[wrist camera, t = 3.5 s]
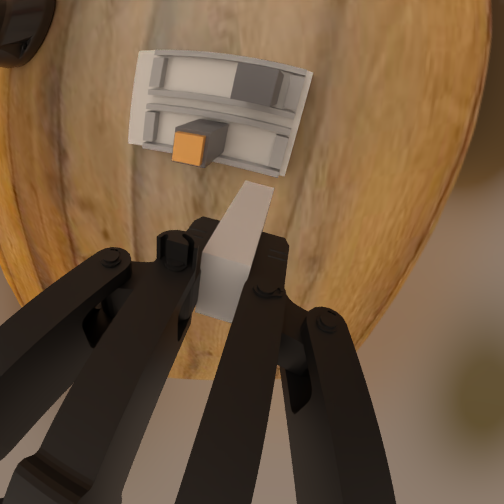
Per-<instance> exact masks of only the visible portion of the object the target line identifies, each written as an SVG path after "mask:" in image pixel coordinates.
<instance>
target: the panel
mask: <svg viewBox="0 0 504 504" xmlns="http://www.w3.org/2000/svg"><path fill="white" fill-rule="evenodd" d="M312 75H313V72H310V71H307V70H306V69H302V68H298V67H294V66H290V65H286V64H282V63H277V62H273V61H268V60H263V59H257V58H251V57H245V56H239V55H232V54H224V53H215V52H204V51H190V50H149V51H139V55H138V60H137V66H136V72H135V79H134V86H133V94H132V102H131V112H130V122H129V136H128V143H130V144H137V145H142V148H144V149H150V150H156V151H162V152H167V153H172V151H173V143H174V135H175V127H177V126H180V125H183V124H186V123H188V122H191V121H194V120H197V119H206V120H211V121H217V122H222V123H227V124H229V126H228V131H227V136H226V141H225V147H224V152H223V153H222V154H221V155H219V156H218V157H217V158H216V159H215V160H213V161H212V162H216V163H221V164H225V165H229V166H233V167H238V168H242V169H246V170H250V171H254V172H257V173H261V174H265V175H269V176H272V177H276V178H278V176H279V175H281V176H285V173H286V169H287V166H288V162H289V159H290V155H291V152H292V148H293V145H294V141H295V137H296V134H297V130H298V127H299V123H300V119H301V116H302V112H303V108H304V105H305V101H306V98H307V94H308V90H309V87H310V83H311V79H312Z"/></svg>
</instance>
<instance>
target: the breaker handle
mask: <svg viewBox="0 0 504 504" xmlns="http://www.w3.org/2000/svg"><path fill="white" fill-rule="evenodd" d="M228 126H229V124H227V123H222V122H217V121H211V120H206V119H197V120H194V121H191V122H188V123H186V124H183V125H180V126H177V127H175V135H174V143H173V151H172V161H173V162H178V163H183V164H188V165H192V166H197V167H201V168H205V167H207V166H208V165H209V164H210V163H211V162H212V161H213V160H215V159H216V158H217V157H218V156H219V155H221V154H222V153H223V152H224V147H225V141H226V136H227V131H228Z"/></svg>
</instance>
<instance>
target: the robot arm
mask: <svg viewBox="0 0 504 504" xmlns="http://www.w3.org/2000/svg"><path fill="white" fill-rule="evenodd" d="M54 6H55V0H0V67H3V68H13V67H18V66H22V65H24V64H25V63H26V62H28V61H29V60H30V59H31V58H32V56H33V55H34V54H35V53H36V51H37V50H38V48H39V46H40V45H41V43H42V41H43V39H44V37H45V35H46V33H47V31H48V28H49V25H50V23H51V19H52V16H53V12H54ZM273 191H274V188H272V187H269V186H265V185H261V184H258V183H254V182H250V181H246V180H245V182H244V183H243V185H242V187H241V188H240V190H239V191H238V193H237V195H236V196H235V198H234V200H233V201H232V203H231V204H230V206H229V208H228V209H227V211H226V213H225V214H224V216H223V218H222V219H221V221H218V220H215V219H211V218H207V217H201V218H199V219H197V220H195V221H194V222H193V223H192V224H191V226H190V227H189V229H188V230H187V231H180V230H169V231H166V232H163V233H161V234H160V235H158V236H157V259H156V260H155V261H154V262H135V261H131V257H130V254H129V253H128V252H127V251H126V250H124V249H121V248H116V247H110V248H105V249H103V250H101V251H99V252H97V253H96V254H94V255H93V256H91V257H90V258H88V259H87V260H85V261H84V262H82V263H81V264H80V265H78V266H77V267H75V268H74V269H72V270H71V271H70V272H68V273H67V274H65V275H64V276H63V277H61V278H60V279H59V280H57V281H56V282H54V283H53V284H52V285H50V286H49V287H48V288H46V289H45V290H44V291H43V292H41V293H40V294H39V295H37V296H36V297H35V298H34V299H32V300H31V301H30V302H29V303H27V304H26V305H25V306H24V307H22V308H21V309H20V310H19V311H18V312H16V313H15V314H14V315H13V316H11V317H10V318H9V319H8V320H7V321H6V322H5V323H3V324H2V325H1V326H0V460H2V459H3V458H4V457H5V456H6V455H7V454H8V453H9V452H10V451H11V450H12V449H13V448H14V447H15V446H16V445H17V443H18V442H19V441H20V440H21V439H22V438H23V437H24V435H25V434H26V433H27V432H28V431H29V430H30V429H31V428H32V427H33V426H34V424H35V423H36V422H37V421H38V420H39V419H40V418H41V417H42V416H43V414H45V412H46V411H47V410H48V409H49V408H50V407H51V406H52V405H53V404H54V403H55V402H56V401H57V400H58V399H59V397H60V396H61V395H62V394H63V393H64V392H65V391H66V390H67V389H68V388H69V387H70V386H71V385H72V384H73V385H72V387H71V389H70V390H69V392H68V394H67V396H66V398H65V399H64V401H63V403H62V405H61V407H60V409H59V411H58V413H57V414H56V416H55V418H54V420H53V422H52V424H51V426H50V428H49V430H48V432H47V434H46V436H45V438H44V440H43V442H42V445H41V447H40V448H39V450H38V451H37V453H35V454H34V455H32V456H29V457H27V458H24V459H23V460H22V461H21V462H20V463H19V464H18V465H17V467H16V469H15V471H14V473H13V475H12V478H11V481H10V483H9V486H8V488H7V491H6V494H5V497H4V498H0V504H121V503H122V497H121V495H122V491H123V488H124V485H125V482H126V479H127V477H128V474H129V471H130V469H131V466H132V463H133V461H134V458H135V456H136V453H137V451H138V448H139V446H140V443H141V440H142V438H143V435H144V433H145V430H146V428H147V425H148V423H149V420H150V418H151V415H152V413H153V410H154V408H155V406H156V403H157V401H158V398H159V396H160V393H161V391H162V388H163V386H164V384H165V381H166V379H167V377H168V374H169V372H170V370H171V367H172V365H173V363H174V360H175V358H176V356H177V353H178V351H179V349H180V346H181V344H182V342H183V340H184V337H185V335H186V333H187V330H188V328H189V326H190V324H191V318H192V312H193V310H194V307H195V305H196V310H195V312H197V313H200V314H203V315H206V316H210V317H213V318H216V319H219V320H223V321H226V322H230V323H232V324H231V327H230V331H229V334H228V337H227V340H226V343H225V346H224V350H223V353H222V356H221V359H220V362H219V365H218V369H217V372H216V375H215V378H214V381H213V384H212V388H211V391H210V394H209V397H208V401H207V403H206V407H205V410H204V413H203V416H202V419H201V422H200V426H199V429H198V432H197V435H196V438H195V441H194V444H193V448H192V451H191V454H190V457H189V460H188V463H187V467H186V470H185V473H184V476H183V479H182V482H181V485H180V488H179V492H178V495H177V498H176V501H175V504H251V502H252V497H253V492H254V488H255V484H256V479H257V474H258V469H259V464H260V459H261V454H262V449H263V444H264V439H265V433H266V428H267V422H268V416H269V411H270V404H271V399H272V393H273V387H274V381H275V374H276V368H277V365H279V366H280V373H281V381H282V388H283V395H284V402H285V411H286V418H287V426H288V433H289V441H290V449H291V458H292V464H293V474H294V482H295V491H296V499H297V504H396V501H395V496H394V490H393V485H392V480H391V476H390V471H389V466H388V463H387V458H386V454H385V449H384V446H383V441H382V437H381V434H380V430H379V426H378V423H377V419H376V415H375V412H374V408H373V405H372V401H371V398H370V395H369V391H368V388H367V385H366V381H365V378H364V375H363V372H362V369H361V366H360V363H359V359H358V356H357V353H356V350H355V347H354V344H353V341H352V338H351V336H350V333H349V330H348V327H347V324H346V322H345V321H344V319H343V317H342V316H341V315H339V314H338V313H337V312H336V311H334V310H332V309H330V308H326V307H315V308H313V309H311V310H310V311H309V312H308V311H306V310H304V309H302V308H301V307H299V306H297V305H296V304H294V303H293V302H292V301H291V300H290V299H289V298H288V296H287V295H286V290H285V289H284V284H285V276H286V268H287V260H288V252H289V245H288V243H287V241H286V239H285V238H282V237H279V236H275V235H272V234H268V233H265V232H262V231H263V228H264V224H265V221H266V217H267V213H268V210H269V206H270V202H271V199H272V195H273ZM100 302H101V303H100Z"/></svg>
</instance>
